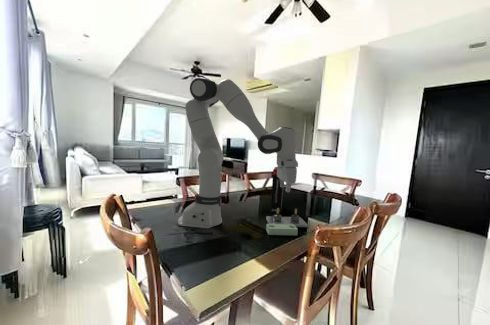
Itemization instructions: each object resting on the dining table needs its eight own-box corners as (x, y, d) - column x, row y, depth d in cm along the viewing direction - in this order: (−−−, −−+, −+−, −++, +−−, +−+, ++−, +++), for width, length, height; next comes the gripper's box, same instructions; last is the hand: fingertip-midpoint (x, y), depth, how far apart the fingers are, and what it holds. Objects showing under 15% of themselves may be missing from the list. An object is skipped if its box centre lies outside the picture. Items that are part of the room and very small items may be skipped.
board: (268, 234, 104) (268, 228, 104) (266, 229, 110) (266, 223, 110) (297, 235, 106) (297, 229, 106) (293, 230, 112) (293, 224, 111)
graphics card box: (280, 214, 135) (284, 170, 133) (269, 213, 137) (272, 169, 134) (282, 206, 152) (285, 167, 149) (271, 205, 153) (274, 166, 151)
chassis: (270, 226, 115) (271, 211, 114) (266, 218, 126) (267, 205, 125) (307, 227, 117) (308, 212, 116) (300, 219, 128) (301, 206, 127)
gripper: (274, 159, 116) (273, 185, 118) (285, 163, 96) (284, 194, 97) (286, 159, 117) (285, 185, 118) (299, 163, 96) (298, 194, 98)
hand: (284, 189), depth 108 cm, fingers open, 8 cm apart
